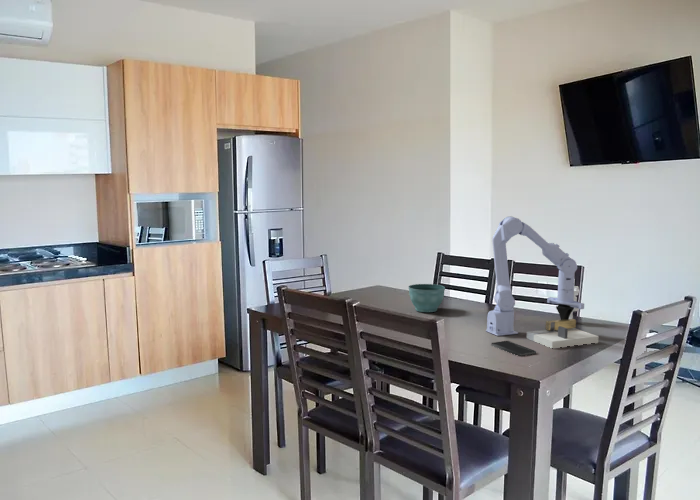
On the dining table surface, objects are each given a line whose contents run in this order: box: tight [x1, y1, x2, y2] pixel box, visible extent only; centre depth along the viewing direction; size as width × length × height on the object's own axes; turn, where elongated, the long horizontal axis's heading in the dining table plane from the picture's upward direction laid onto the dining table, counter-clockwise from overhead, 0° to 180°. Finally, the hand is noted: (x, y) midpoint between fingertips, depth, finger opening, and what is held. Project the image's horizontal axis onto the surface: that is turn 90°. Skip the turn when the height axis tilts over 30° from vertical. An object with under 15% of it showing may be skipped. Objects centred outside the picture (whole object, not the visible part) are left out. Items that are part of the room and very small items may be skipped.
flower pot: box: [408, 283, 446, 313], centre depth 255 cm, size 16×16×11 cm
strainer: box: [569, 285, 580, 319], centre depth 233 cm, size 7×7×15 cm
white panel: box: [526, 326, 600, 349], centre depth 207 cm, size 20×14×6 cm
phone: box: [490, 340, 537, 357], centre depth 196 cm, size 8×1×15 cm
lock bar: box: [545, 318, 577, 331], centre depth 212 cm, size 12×3×3 cm, turn 110°
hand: (564, 324), depth 216 cm, fingers closed, pressing on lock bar
